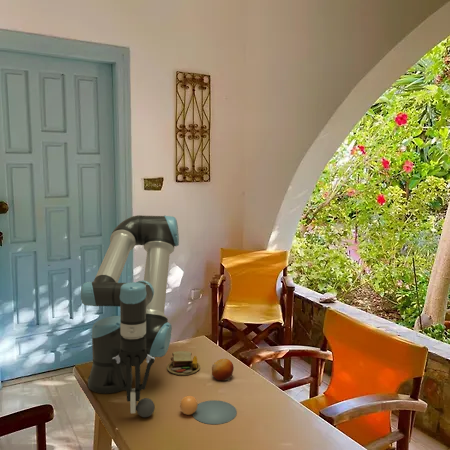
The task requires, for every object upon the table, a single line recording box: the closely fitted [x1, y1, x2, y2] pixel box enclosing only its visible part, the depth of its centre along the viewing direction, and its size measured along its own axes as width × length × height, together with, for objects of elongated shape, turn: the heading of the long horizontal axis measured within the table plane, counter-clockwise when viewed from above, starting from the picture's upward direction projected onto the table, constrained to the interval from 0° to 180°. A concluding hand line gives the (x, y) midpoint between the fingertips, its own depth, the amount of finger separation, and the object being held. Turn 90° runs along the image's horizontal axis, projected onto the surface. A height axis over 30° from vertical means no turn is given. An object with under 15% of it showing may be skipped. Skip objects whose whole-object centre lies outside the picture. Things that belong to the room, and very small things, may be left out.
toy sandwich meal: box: [166, 350, 201, 376], centre depth 177 cm, size 12×14×5 cm
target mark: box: [191, 399, 238, 425], centre depth 145 cm, size 14×14×1 cm
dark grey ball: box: [136, 397, 155, 418], centre depth 142 cm, size 6×6×6 cm
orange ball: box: [179, 395, 199, 416], centre depth 144 cm, size 6×6×6 cm
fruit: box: [211, 358, 235, 382], centre depth 169 cm, size 8×8×8 cm
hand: (133, 410), depth 141 cm, fingers closed
